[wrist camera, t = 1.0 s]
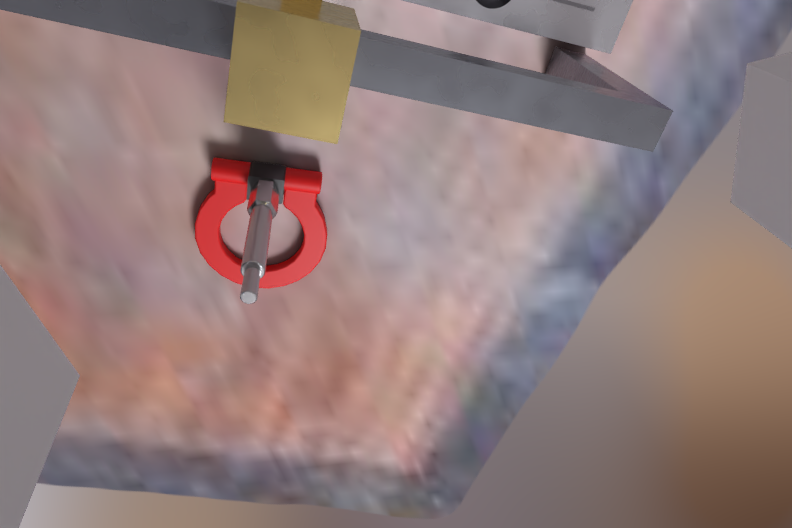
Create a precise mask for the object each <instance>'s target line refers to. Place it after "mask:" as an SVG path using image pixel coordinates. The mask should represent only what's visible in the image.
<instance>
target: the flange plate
mask: <svg viewBox="0 0 792 528" xmlns="http://www.w3.org/2000/svg"><path fill="white" fill-rule="evenodd" d="M403 1H407V2H411V3H414V4H418V5H422V6H426V7H430V8H434V9H438V10H442V11H446V12H450V13H454V14H457V15H461V16H465V17H469V18H473V19H477V20H481V21H485V22H489V23H493V24H496V25H500V26H504V27H508V28H512V29H516V30H520V31H524V32H528V33H532V34H536V35H539V36H543V37H547V38H551V39H555V40H559V41H563V42H567V43H571V44H575V45H578V46H582V47H586V48H590V49H594V50H598V51H602V52H606V53H610V54H611V52H612V49H613V47H614V44H615V42H616V40H617V37H618V35H619V32H620V30H621V28H622V25H623V23H624V20H625V18H626V16H627V13H628V11H629V9H630V6H631V4H632V1H633V0H403Z"/></svg>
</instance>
